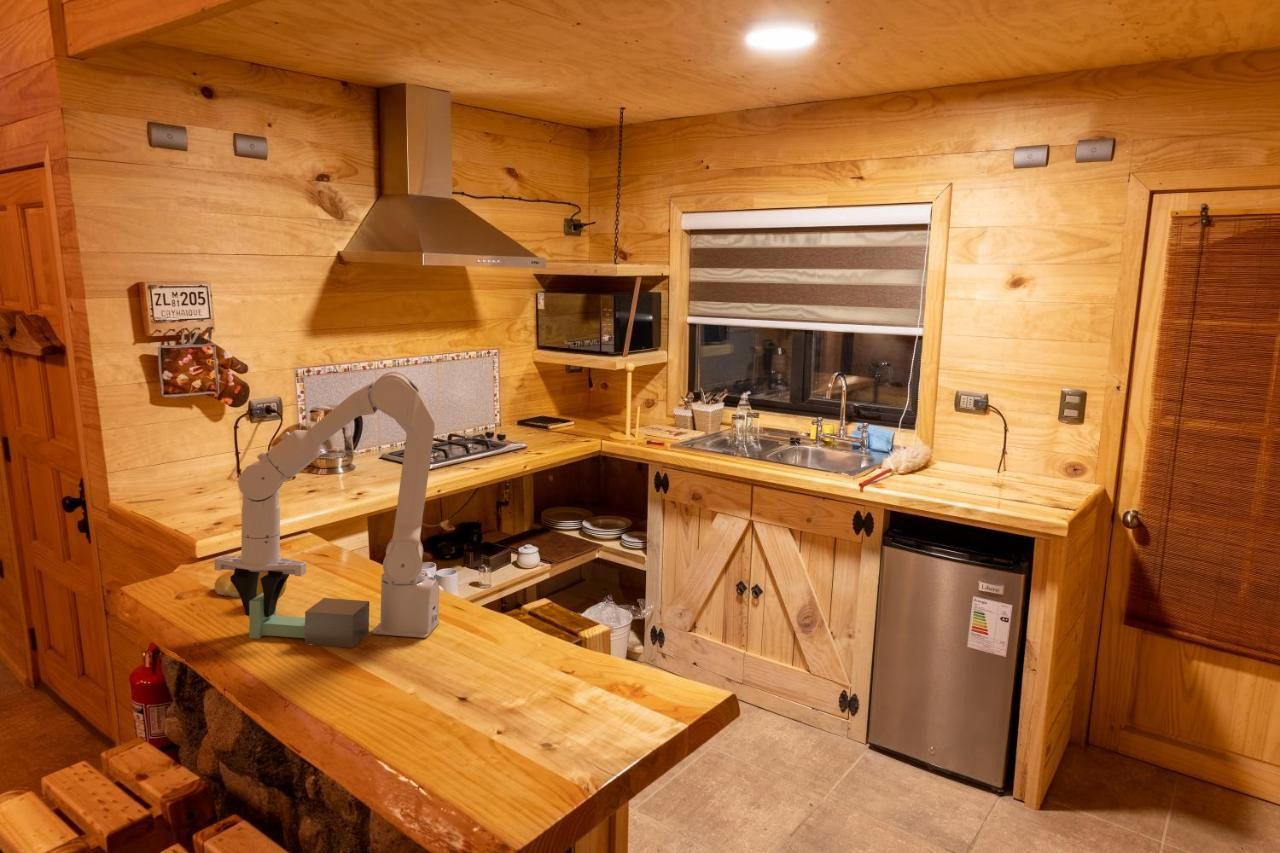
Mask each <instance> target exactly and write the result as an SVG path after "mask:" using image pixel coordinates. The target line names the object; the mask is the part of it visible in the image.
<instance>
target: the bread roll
mask: <svg viewBox="0 0 1280 853" xmlns="http://www.w3.org/2000/svg"><path fill="white" fill-rule="evenodd" d="M232 575H234V570H228V571H227V572H226V571H225V572H224V573H222V574H220V575H219V576H218V577H217V578H216V579H215V583H214V591H215V593H216V594H217V595H219V594H220V595H219V596H222V595H224V596H223V597H231V598H240V595H239V593H238V591H237V589H236V588H235V586H234V585H233V583H232V582H231V580H230V577H231V576H232Z"/></svg>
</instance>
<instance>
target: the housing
mask: <svg viewBox="0 0 1280 853" xmlns="http://www.w3.org/2000/svg"><path fill="white" fill-rule="evenodd" d="M304 614H305V615H304V616H305V617H304V618H305V638H304V645H305V644H313V645H312V646H317V645H320V646H322V647H332V648H334V647H335V648H346V649H353V648H354V647H355V646H356V645H357V644H358V643H360V642H361V640H362V639H364V638H365V637H366V636H367V635H368V634H369V632H370V631H369V630H370V601H369V600H360V599H348V598H347V599H346V598H345V599H344V598H331V597H330V598H329V597H323V598H322V599H321V600H319V601H318V602H316V603H315V604H314V605H312V606H311V607H309V608H307V609H306V611H305V613H304ZM320 646H319V647H320Z"/></svg>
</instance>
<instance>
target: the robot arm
mask: <svg viewBox="0 0 1280 853" xmlns="http://www.w3.org/2000/svg"><path fill="white" fill-rule="evenodd" d="M377 411H380V412H382V413H383V414H385V415H387V416H389V417H390V418H392V419H394V420H395V422H396V423H397V424H398V425H399V426H400V428H402V429H403V430H404V432H405V433H406V436H405V444H404V451H403V459H402V466H401V467H402V468H401V474H400V482H399V489H398V496H397V497H398V498H397V505H396V511H395V519H394V526H393V527H394V528H393V534H392V537H391V539H390V541H389V542H388V543H387V546H386V550H385V556H384V558H383V562H382V569H383V570H382V571H383V573H382V574H381V577H380V578H381V579H380V585H381V586H380V617H379V618H380V621H379V623H378V624H377V625H376V626H375V627H374V628H373V629H372V630H371V632H370V633H371V634H372V635H381V636H382V635H383V636H395V637H396V636H399V637H410V638H422V639H423V638H424V639H426V638H427V637H428V636H429V635H430V634H431V633H432V632H433V630H434V629H435V628H436V627H437V626H438V624H439V623H440V619H439V614H440V612H439V610H440V609H439V608H440V585H439V582H438V581H437V580H434V579H430V578H427V577H426V573H425V572H424V571H423V570H422V569H423V556H424V547H423V544H422V542H421V534H422V525H423V515H424V509H425V503H426V494H427V488H428V480H429V473H430V466H431V458H432V449H433V443H434V435H435V428H436V425H435V423H436V422H435V419H434V417H433V415H432V413H431V411H430V409H429V407H428V405H427V403H426V401H425V400H424V397H423V396H422V394H421V392H420V389H419V388H418V386H417V385H416V384H415V383H414V382H413V381H412V380H410V379H409V378H408V377H407V376H406V375H405V374H403V373H400V372H397V371H389V372H386V373H384V374H382V375H381V376H380V377H379V378H378V379H376V381H372V382H370V383H369V384H366V385H365V386H363V387H361V388H359V389H358V390H355V391H354V392H352V393H351V394H350V395H349V396H347V397H346V398H345V399H344V400H343V401H341V402H340V403H339V404H338V405H337V406H335V407H334V408H333V409H332V410H330V412H329V413H327V414H326V415H325V416H324V417H323V418H321V419H319V421H317V422H316V423H315V424H314V425H313V426H312V427H310V428H309V429H307V430H304V429H302V430H301V429H295V430H293V431H291V433H290V432H289V431H286V432H285V433H283V434H282V435H281V436H280V437H279V438H280V439H281V440H280V441H279V442H278V443H277V444H275V445H274V446H273V447H272V448H270V449H268V450H267V451H266V452H264V451H262V452H261V453H259V454H258V455H257V457H256V458H257V459H258V460H256V461H255V462H253V463H252V464H250V465H247V466H246V467H245V469H244V470H243V471H242V472H241V473H240V475H239V476H238V484H237V485H238V488H239V491H240V492H241V494H242V498H241V501H242V507H241V551H240V553H241V555H220V556H217V557H216V558H214V568H213V570H214V571H222V570H227V571H233V570H234V575H232V576H231V577H230V580H231V582H232V583H233V585H234V586H235V588H236V589H237V591H238V593H239V595H240V597H239V598H240V600H241V603H242V607H243V610H244V614H245V616H247V617H249V605H250V600H252V599H254V598H255V597H257V584H258V578H259V573H260V572H265V573H268V575H265V576H264V577H262V578H261V579H260V581H261V584H262V588H263V594H264V616H265V617H270V616H271V615H273V614H274V613H275V608H276V609H277V603H278V601H279V599H280V598H279V595H280V592H281V590H282V588H283V586H284V584H285V582H286V581H287V580H288V579H289V576H290V575H294V576H295V577H302V576H304V575H306V574H307V561H299V560H295V559H289V558H285V557H281V556H280V553H281V552H280V549H281V548H280V545H281V544H280V543H281V541H280V540H281V538H280V537H281V536H280V535H281V533H280V531H281V506H280V490H279V489H280V488H282V486H283V484H284V482H289V481H291V480H292V478H294V477H295V476H297V475H298V474H299V473H300V472H301V471H303V470H304V469H305V468H307V467H308V466H309V465H310V464H311V463H313V462H314V461H315V460H317V459H318V458H319V457H320V454H321V452H320V451H321V445H322V444H323V443H325V442H326V441H327V440H328V439H330V438H331V437H333V436H334V435H335V434H336V433H338V432H340V430H341V429H343V428H344V427H346V426H347V425H349V424H350V423H351V422H352V421H353V420H355V419H356V418H358V417H361V416H368V415H374V414H376V412H377ZM286 583H287V582H286ZM278 598H279V599H278Z"/></svg>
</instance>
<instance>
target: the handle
mask: <svg viewBox="0 0 1280 853" xmlns="http://www.w3.org/2000/svg"><path fill="white" fill-rule="evenodd" d="M248 617H249V623H248V624H249V627H248V630H249V633H248V634H249V635H248V636H249V639H260V638H262V637H263V636H270V637H271V636H272V637H286V638H296V639H297V638H299V639H305V617H303V616H302V617H301V616H290V615H289V616H288V615H287V616H286V615H277V607H276V608H275V613H274V614H273V615H271V616H270V617H265V616H264V594H263V593H262V594H260V595H259V596H257V597H255V598H254V599H252V600H250V605H249V616H248Z"/></svg>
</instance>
